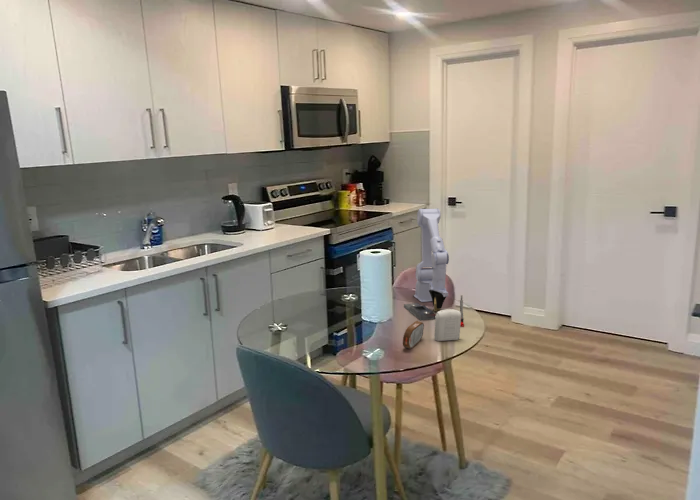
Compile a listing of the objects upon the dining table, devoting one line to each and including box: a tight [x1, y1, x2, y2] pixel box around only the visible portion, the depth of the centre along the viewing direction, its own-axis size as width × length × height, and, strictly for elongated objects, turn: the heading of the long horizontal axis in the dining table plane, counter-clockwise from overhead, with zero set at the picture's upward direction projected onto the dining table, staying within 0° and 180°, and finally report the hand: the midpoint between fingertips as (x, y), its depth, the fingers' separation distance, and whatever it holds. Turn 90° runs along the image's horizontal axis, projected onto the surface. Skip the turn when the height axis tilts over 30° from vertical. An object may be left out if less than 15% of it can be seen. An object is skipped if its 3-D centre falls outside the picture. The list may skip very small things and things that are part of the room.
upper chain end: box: [410, 304, 436, 321], centre depth 237 cm, size 11×7×3 cm, turn 18°
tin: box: [402, 320, 425, 350], centre depth 206 cm, size 15×3×8 cm, turn 150°
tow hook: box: [459, 294, 465, 328], centre depth 227 cm, size 8×13×9 cm
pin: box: [433, 298, 442, 313], centre depth 241 cm, size 3×3×6 cm
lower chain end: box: [403, 302, 423, 317], centre depth 243 cm, size 13×7×2 cm, turn 18°
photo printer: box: [433, 308, 461, 342], centre depth 211 cm, size 10×4×12 cm, turn 103°
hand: (437, 306), depth 241 cm, fingers closed on pin, 3 cm apart
